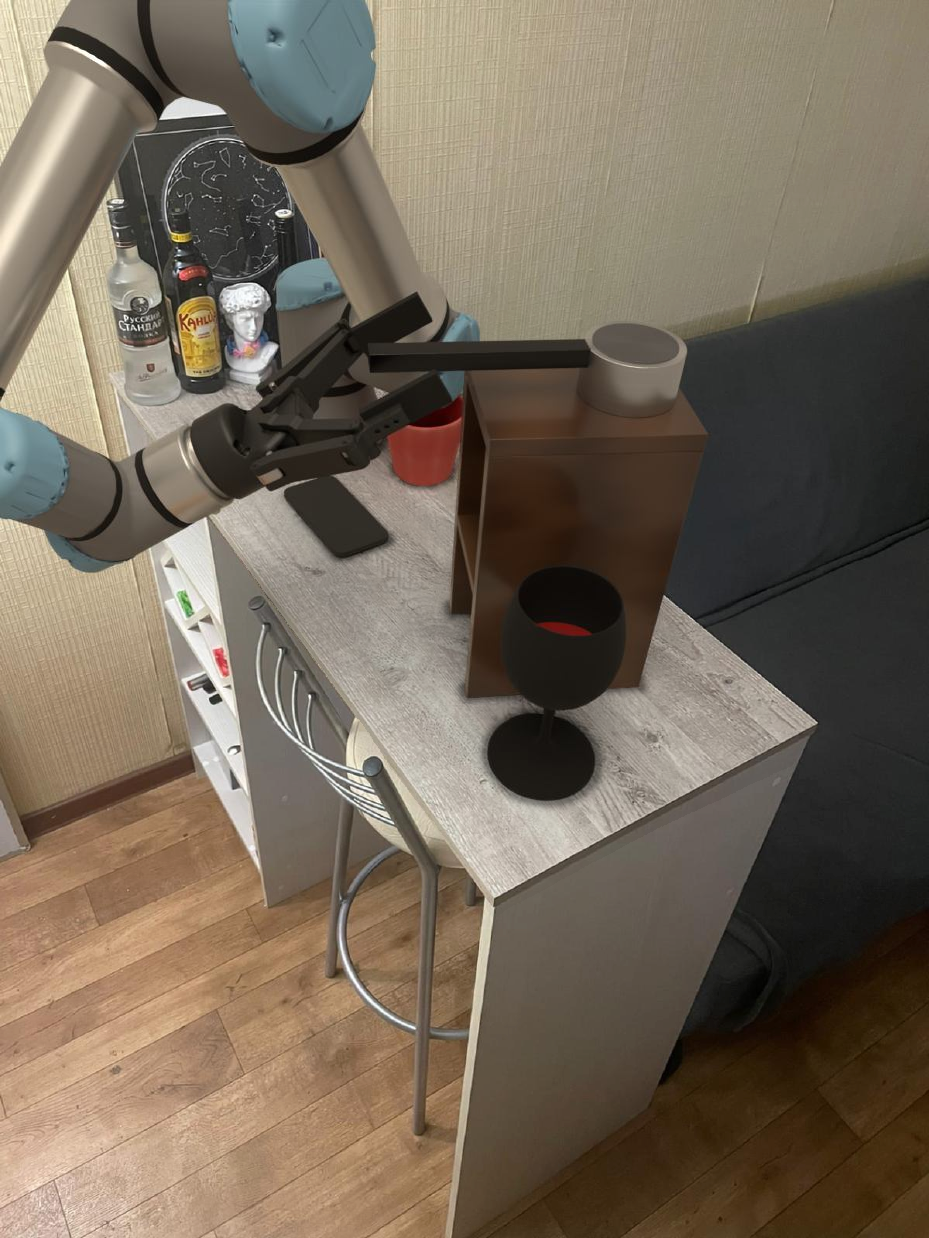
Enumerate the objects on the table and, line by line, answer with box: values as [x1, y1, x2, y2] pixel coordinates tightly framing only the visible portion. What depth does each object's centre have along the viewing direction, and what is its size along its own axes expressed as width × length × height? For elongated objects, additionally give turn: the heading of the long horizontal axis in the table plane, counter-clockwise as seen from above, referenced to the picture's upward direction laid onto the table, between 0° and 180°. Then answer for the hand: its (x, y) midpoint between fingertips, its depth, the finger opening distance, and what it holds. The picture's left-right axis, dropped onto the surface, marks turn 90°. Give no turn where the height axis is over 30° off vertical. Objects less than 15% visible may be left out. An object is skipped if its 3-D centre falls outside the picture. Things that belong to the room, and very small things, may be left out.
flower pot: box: [386, 394, 463, 487], centre depth 118 cm, size 11×11×10 cm
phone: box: [283, 475, 389, 558], centre depth 112 cm, size 7×1×15 cm
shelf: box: [448, 368, 709, 699], centre depth 88 cm, size 18×14×30 cm
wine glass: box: [486, 565, 626, 801], centre depth 80 cm, size 10×10×20 cm
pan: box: [368, 320, 688, 418], centre depth 75 cm, size 26×8×5 cm, turn 99°
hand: (434, 343), depth 72 cm, fingers open, 13 cm apart
